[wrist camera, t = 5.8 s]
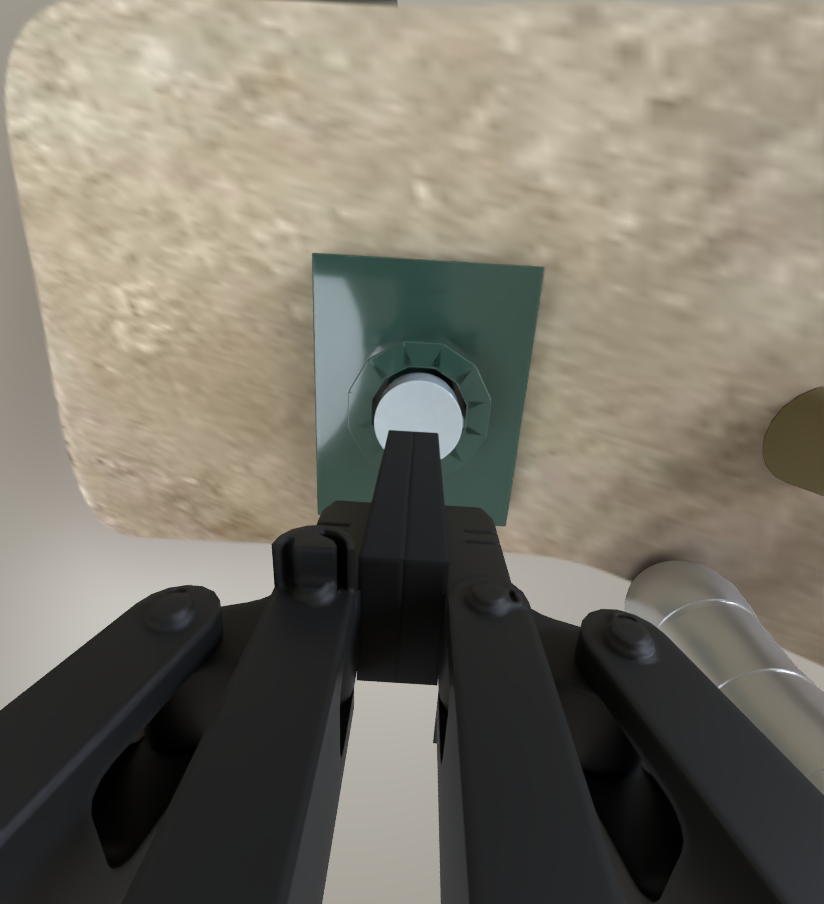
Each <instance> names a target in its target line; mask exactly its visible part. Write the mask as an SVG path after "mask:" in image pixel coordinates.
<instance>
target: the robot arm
mask: <svg viewBox="0 0 824 904" xmlns="http://www.w3.org/2000/svg"><path fill="white" fill-rule="evenodd" d="M272 556H273V568H274V569H273V570H274V584H275V588H274V590H273V592H272V594H271V595H270V596H268V597H265V598H263V599H260V600H255V601H252V602H248V603H240V604H234V605H228V606H223V607H221V606H220V600H219V598H218V597H217V596H216V594H215V592H214V591H212V590H209V589H207V588H205V587H203V586H192V585H185V586H179V587H172V588H167V589H165V590H162V591H159V592H156V593H154V594H151V595H150V596H148V597H146V598H145V599H143V600H141V601H140V602H138V603H136V604H135V605H134V606H133V607H131V608H130V609H129V610H128V611H126V612H125V613H124V614H122V615H121V616H120V617H119V618H117V619H116V620H115V621H113V622H112V623H111V624H110V625H108V626H107V627H106V628H105V629H103V630H102V631H101V632H100V633H98V634H97V635H96V636H94V637H93V638H92V639H91V640H89V641H88V642H87V643H86V644H84V645H83V646H82V647H80V648H79V649H78V650H77V651H75V652H74V653H73V654H71V655H70V656H69V657H68V658H66V659H65V660H64V661H63V662H61V663H60V664H59V665H58V666H56V667H55V668H54V669H53V670H51V671H50V672H49V673H47V674H46V675H45V676H44V677H42V678H41V679H40V680H39V681H37V682H36V683H35V684H33V685H32V686H31V687H30V688H28V689H27V690H26V691H25V692H23V693H22V694H21V695H19V696H18V697H17V698H16V699H14V700H13V701H12V702H11V703H9V704H8V705H7V706H5V707H4V708H3V709H2V710H0V904H322V900H323V894H324V888H325V882H326V876H327V869H328V863H329V857H330V851H331V845H332V838H333V832H334V827H335V820H336V814H337V808H338V802H339V795H340V790H341V783H342V777H343V771H344V765H345V758H346V753H347V746H348V740H349V734H350V728H351V722H352V716H353V709H354V683H355V678H356V672H357V680H362V681H377V682H393V683H409V684H425V685H437V682H438V684H439V693H438V702H437V712H436V721H435V730H434V740H433V743H437V760H438V802H439V844H440V882H441V883H440V886H441V904H824V795H823V794H822V793H821V792H820V791H819V790H818V789H817V788H816V787H815V786H814V785H813V784H812V783H811V782H810V781H809V780H808V779H807V778H806V777H805V776H804V775H803V774H802V773H801V772H800V771H799V770H798V769H797V768H796V767H795V766H794V765H793V763H792V762H791V761H790V760H789V759H788V758H787V757H786V756H785V755H784V754H783V753H782V752H781V751H780V750H779V749H778V748H777V747H776V746H775V745H774V744H773V743H772V742H771V741H770V740H769V739H768V738H767V737H766V736H765V735H764V734H763V733H762V732H761V731H760V730H759V729H758V728H757V727H756V726H755V725H754V724H753V723H752V722H751V721H750V720H749V719H748V718H747V717H746V716H745V715H744V714H743V713H742V712H741V711H740V710H739V709H738V708H737V707H736V706H735V705H734V703H733V702H732V701H731V700H730V699H729V698H728V697H727V696H726V695H725V694H724V693H723V692H722V691H721V690H720V689H719V688H718V687H717V686H716V685H715V684H714V683H713V682H712V681H711V680H710V679H709V678H708V677H707V676H706V675H705V674H704V673H703V672H702V671H701V670H700V669H699V668H698V667H697V666H696V665H695V664H694V663H693V662H692V661H691V660H690V659H689V658H688V657H687V656H686V655H685V654H684V653H683V652H682V651H681V650H680V649H679V648H678V647H677V646H676V645H675V643H674V642H673V641H672V640H671V639H670V638H669V637H668V636H667V635H666V634H664V633H663V632H662V631H661V630H659V629H658V628H657V627H656V626H654V625H653V624H652V623H650V622H648V621H646V620H644V619H642V618H640V617H638V616H636V615H634V614H631V613H627V612H623V611H620V610H611V609H600V610H597V611H594V612H591V613H589V614H588V615H587V616H586V617H585V618H584V619H583V620H582V624H581V627H578V626H575V625H572V624H568V623H565V622H562V621H558V620H555V619H552V618H549V617H547V616H544V615H542V614H540V613H538V612H536V611H534V610H533V609H531V607H530V604H529V602H528V600H527V598H526V597H525V595H524V593H523V592H522V591H521V590H519V589H518V588H517V587H516V586H514V585H513V584H512V583H511V580H510V577H509V573H508V570H507V567H506V563H505V560H504V556H503V552H502V549H501V545H500V542H499V538H498V535H497V531H496V528H495V524H494V521H493V519H492V518H491V517H490V516H489V515H488V514H487V513H486V512H485V511H484V510H483V509H482V508H478V507H462V506H445V503H444V492H443V481H442V470H441V458H440V447H439V436H438V433H430V432H414V431H397V430H389V431H388V436H387V440H386V444H385V448H384V452H383V456H382V461H381V465H380V469H379V473H378V477H377V481H376V486H375V490H374V494H373V498H372V502H355V501H339V500H336V501H334V502H333V503H332V504H330V505H329V506H328V507H326V508H325V509H324V510H323V511H322V513H321V516H320V518H319V520H318V523H317V525H312V526H304V527H300V528H296V529H292V530H290V531H288V532H286V533H284V534H282V535H280V536H279V537H278V538H277V539H276V540H275V541H274V542H273V543H272Z"/></svg>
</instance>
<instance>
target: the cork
mask: <svg viewBox="0 0 824 904" xmlns="http://www.w3.org/2000/svg"><path fill="white" fill-rule="evenodd" d="M763 455H764V459H765V463H766V466H767V467H768V469H769V470H770V471H771V472H772V474H773V475H774V476H775V477H777V478H779V479H781V480H783V481H785V482H786V483H789V484H792V485H794V486H797V487H800V488H803V489H805V490H808V491H811V492H814V493H816V494H819V495H822V496H824V387H820V388H816V389H814V390H812V391H809V392H807V393H804V394H802V395H800V396H798V397H797V398H796V399H794V400H793V401H792V402H790V403H789V404H788V405H786V406H785V407H784V408H783V409H782V410H781V411H780V412H779V414H778V415H777V416H776V417H775V418H774V420H773V421H772V422H771V424H770V426H769V429H768V431H767V433H766V435H765V438H764V446H763Z"/></svg>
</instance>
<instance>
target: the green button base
mask: <svg viewBox="0 0 824 904" xmlns="http://www.w3.org/2000/svg"><path fill="white" fill-rule="evenodd" d="M544 270H545V267H540V266H523V265H507V264H490V263H473V262H457V261H440V260H424V259H407V258H391V257H374V256H357V255H341V254H324V253H312V272H313V318H314V363H315V409H316V455H317V500H318V515H321V513H322V511H323V510H324V509H325V508H326V507H328V506H329V505H330V504H332V503H333V502H334V501H336V500H339V501H355V502H372V498H373V494H374V490H375V486H376V481H377V477H378V473H379V469H380V465H381V461H382V456H383V452H384V449H383V448H382V446H381V445H380V443H379V441H378V439H377V437H376V434H375V429H374V416H375V412H376V409H377V406H378V404H379V401H380V398H381V396H382V394H383V392H384V390H385V389H386V388H387V386H388V385H389V384H390V383H391V382H393V381H394V380H395V379H397V378H398V377H400V376H403V375H405V374H408V373H414V372H424V373H429V374H433V375H435V376H437V377H439V378H441V379H442V380H444V381H445V382H446V383H447V384H448V385H449V386H450V387H451V388H452V390H453V391H454V393H455V395H456V397H457V399H458V403H459V406H460V410H461V414H462V420H463V427H462V433H461V436H460V439H459V441H458V443H457V445H456V446H455V448H454V449H453V450H452V451H451V452H450V453H449V454H448V455H447V456H445V457H444V458H443V459H441V470H442V481H443V492H444V503H445V506H462V507H478V508H482V509H483V510H484V511H485V512H486V513H487V514H488V515H489V516H490V517H491V518H492V519H493V521H494V524H495V526H506V521H507V515H508V508H509V501H510V495H511V488H512V482H513V475H514V468H515V462H516V455H517V449H518V442H519V435H520V429H521V422H522V415H523V409H524V402H525V396H526V389H527V382H528V376H529V369H530V363H531V356H532V349H533V343H534V336H535V329H536V323H537V316H538V310H539V303H540V296H541V290H542V283H543V277H544Z"/></svg>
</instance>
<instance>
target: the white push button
mask: <svg viewBox="0 0 824 904" xmlns="http://www.w3.org/2000/svg"><path fill="white" fill-rule="evenodd" d="M462 427H463V420H462V414H461V410H460V406H459V403H458V399H457V397H456V395H455V393H454V391H453V390H452V388H451V387H450V386H449V385H448V384H447V383H446V382H445V381H444V380H442V379H441V378H439V377H437V376H435V375H433V374H429V373H424V372H414V373H408V374H405V375H403V376H400V377H398V378H397V379H395V380H394V381H393V382H391V383H390V384H389V385H388V386H387V388H386V389H385V390H384V392H383V394H382V396H381V398H380V401H379V404H378V406H377V409H376V412H375V416H374V429H375V434H376V437H377V439H378V441H379V443H380V445H381V446H382V448H383V449H384V448H385V444H386V440H387V436H388V431H389V430H397V431H414V432H430V433H438V436H439V447H440V458H441V459H443V458H444V457H445V456H447V455H448V454H449V453H450V452H451V451H452V450H453V449H454V448H455V446H456V445H457V443H458V441H459V439H460V436H461V433H462Z"/></svg>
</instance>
